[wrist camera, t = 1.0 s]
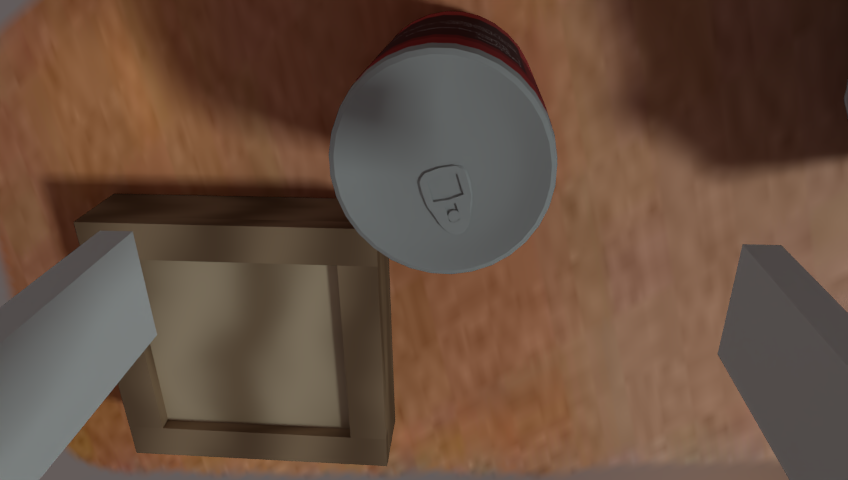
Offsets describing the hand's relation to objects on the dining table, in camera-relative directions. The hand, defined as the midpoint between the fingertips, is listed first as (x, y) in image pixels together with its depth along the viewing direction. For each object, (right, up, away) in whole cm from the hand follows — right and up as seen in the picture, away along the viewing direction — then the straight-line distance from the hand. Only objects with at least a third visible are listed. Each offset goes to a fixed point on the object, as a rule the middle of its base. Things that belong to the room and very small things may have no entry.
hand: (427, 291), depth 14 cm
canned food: (+1, +8, +17) cm, 19 cm away
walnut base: (-9, -3, +23) cm, 25 cm away
